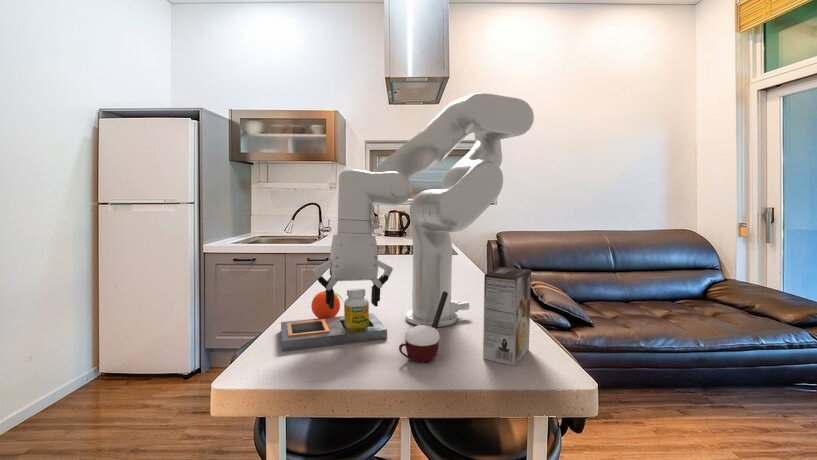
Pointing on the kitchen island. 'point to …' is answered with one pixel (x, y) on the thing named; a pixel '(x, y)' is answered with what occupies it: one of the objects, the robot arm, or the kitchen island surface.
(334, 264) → the robot arm
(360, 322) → the supplement bottle
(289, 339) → the two-pocket grey tray
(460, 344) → the kitchen island surface
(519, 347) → the coffee box
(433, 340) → the cocoa
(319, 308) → the clementine
